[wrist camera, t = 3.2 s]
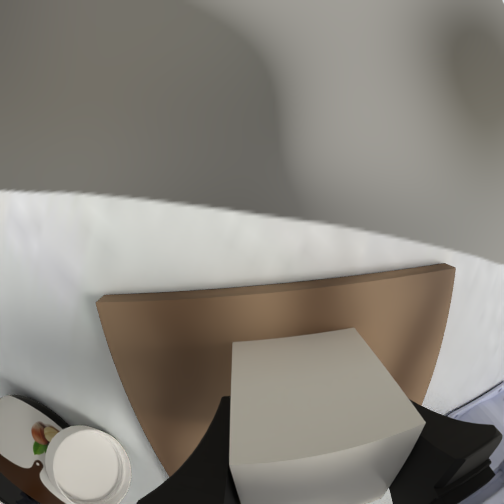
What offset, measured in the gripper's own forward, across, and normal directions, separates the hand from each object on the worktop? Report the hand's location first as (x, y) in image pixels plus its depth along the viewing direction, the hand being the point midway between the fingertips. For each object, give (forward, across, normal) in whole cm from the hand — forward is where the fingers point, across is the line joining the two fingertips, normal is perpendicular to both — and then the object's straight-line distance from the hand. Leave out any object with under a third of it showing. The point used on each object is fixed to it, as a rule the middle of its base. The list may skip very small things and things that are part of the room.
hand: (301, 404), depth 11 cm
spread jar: (+3, +18, +7) cm, 20 cm away
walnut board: (+3, 0, +5) cm, 6 cm away
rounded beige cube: (+2, 0, 0) cm, 2 cm away
